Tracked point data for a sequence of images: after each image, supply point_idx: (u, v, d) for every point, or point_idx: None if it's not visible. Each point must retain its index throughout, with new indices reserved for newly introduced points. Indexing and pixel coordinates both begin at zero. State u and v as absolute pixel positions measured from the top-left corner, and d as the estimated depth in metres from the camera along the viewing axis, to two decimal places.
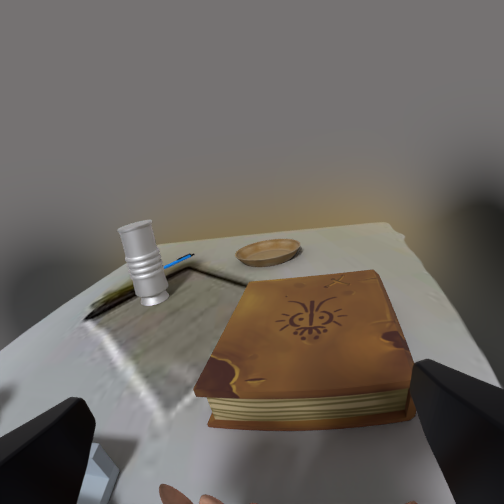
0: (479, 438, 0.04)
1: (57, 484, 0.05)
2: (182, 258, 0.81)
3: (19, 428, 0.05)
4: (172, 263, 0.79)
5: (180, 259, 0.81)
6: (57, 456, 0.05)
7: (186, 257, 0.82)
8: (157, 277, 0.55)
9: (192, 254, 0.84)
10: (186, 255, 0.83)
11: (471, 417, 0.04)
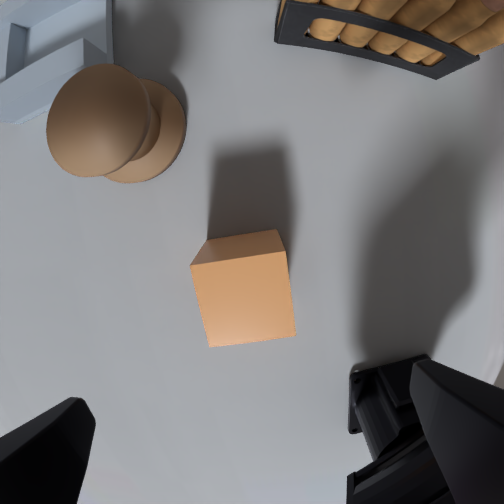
0: (479, 438, 0.04)
1: (57, 484, 0.05)
2: None
3: (19, 428, 0.05)
4: None
5: None
6: (57, 456, 0.05)
7: None
8: None
9: None
10: None
11: (472, 417, 0.04)
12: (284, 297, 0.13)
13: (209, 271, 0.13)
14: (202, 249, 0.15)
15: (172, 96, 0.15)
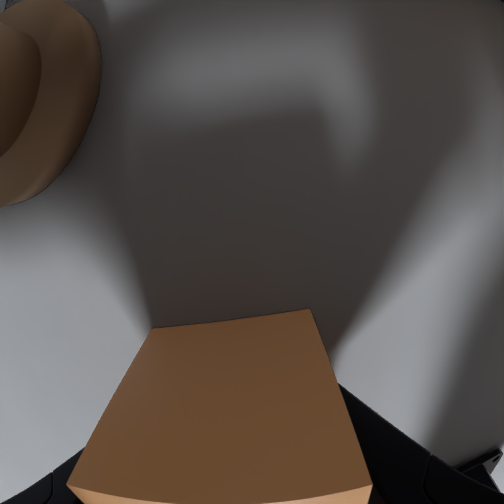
0: None
1: None
2: None
3: None
4: None
5: None
6: None
7: None
8: None
9: None
10: None
11: None
12: None
13: None
14: (125, 383, 0.05)
15: (71, 12, 0.05)
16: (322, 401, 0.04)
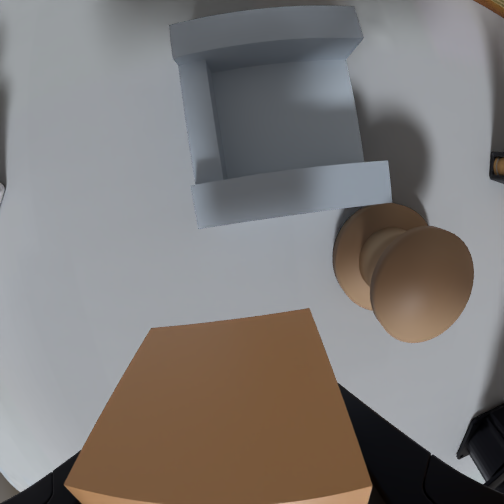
0: None
1: None
2: None
3: None
4: None
5: None
6: None
7: None
8: None
9: None
10: None
11: None
12: None
13: None
14: (123, 383, 0.05)
15: None
16: (321, 401, 0.04)
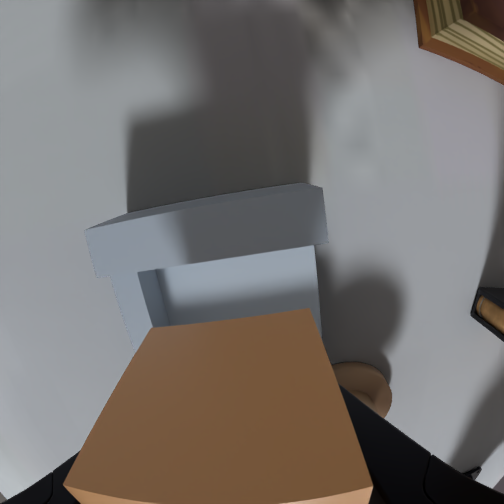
0: None
1: None
2: None
3: None
4: None
5: None
6: None
7: None
8: None
9: None
10: None
11: None
12: None
13: None
14: (123, 382, 0.05)
15: (388, 387, 0.15)
16: (322, 401, 0.04)
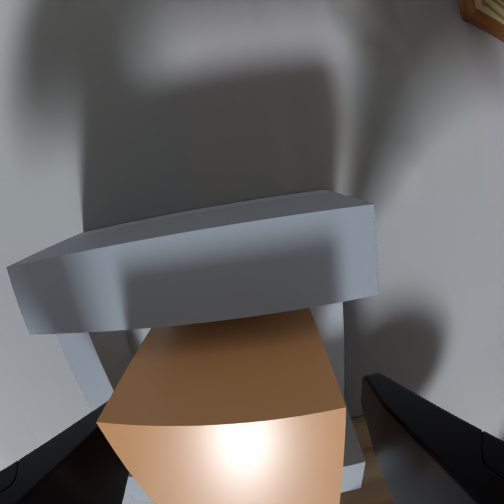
0: (416, 465, 0.04)
1: (101, 495, 0.05)
2: None
3: (57, 437, 0.05)
4: None
5: None
6: (101, 465, 0.05)
7: None
8: None
9: None
10: None
11: (412, 442, 0.04)
12: (327, 479, 0.04)
13: (143, 440, 0.04)
14: (144, 345, 0.07)
15: None
16: (307, 350, 0.06)
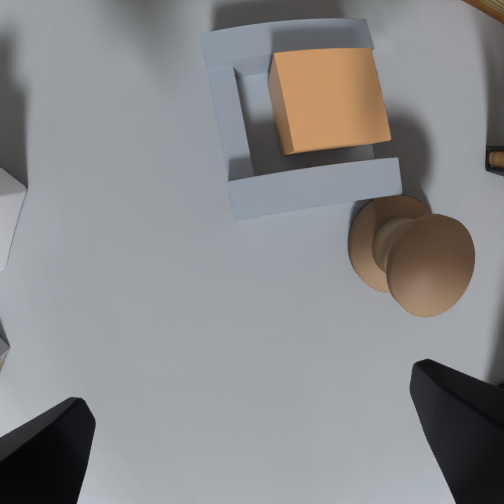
0: (478, 438, 0.04)
1: (57, 483, 0.05)
2: None
3: (19, 428, 0.05)
4: None
5: None
6: (57, 456, 0.05)
7: None
8: None
9: None
10: None
11: (472, 418, 0.04)
12: (375, 92, 0.10)
13: (295, 59, 0.10)
14: None
15: None
16: None
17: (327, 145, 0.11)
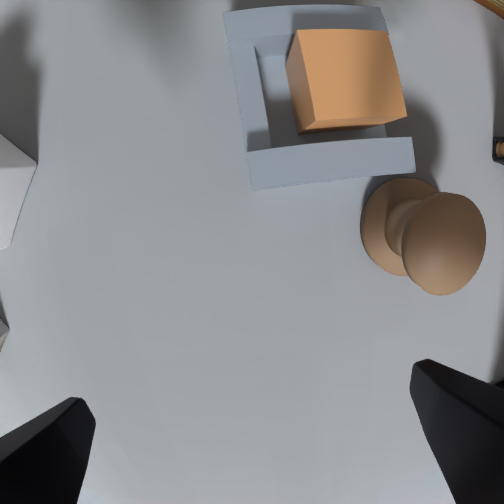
0: (478, 438, 0.04)
1: (57, 484, 0.05)
2: None
3: (19, 428, 0.05)
4: None
5: None
6: (57, 456, 0.05)
7: None
8: None
9: None
10: None
11: (472, 418, 0.04)
12: (392, 71, 0.10)
13: (317, 36, 0.10)
14: None
15: None
16: None
17: (347, 117, 0.11)
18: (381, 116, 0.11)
